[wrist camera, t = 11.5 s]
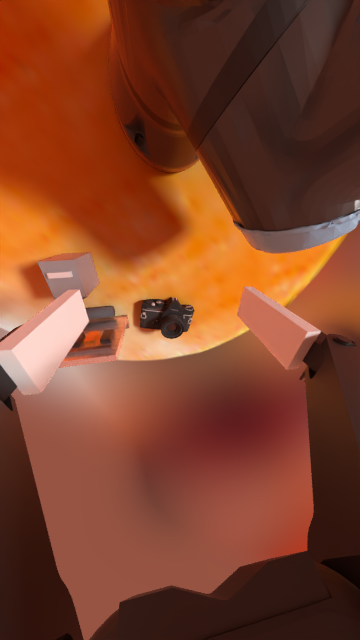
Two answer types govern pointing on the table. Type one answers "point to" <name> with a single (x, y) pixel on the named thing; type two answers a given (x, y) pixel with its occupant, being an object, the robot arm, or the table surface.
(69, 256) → the grey tall block
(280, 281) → the table surface
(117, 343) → the breaker panel
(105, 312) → the gray cylinder
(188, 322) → the film camera
